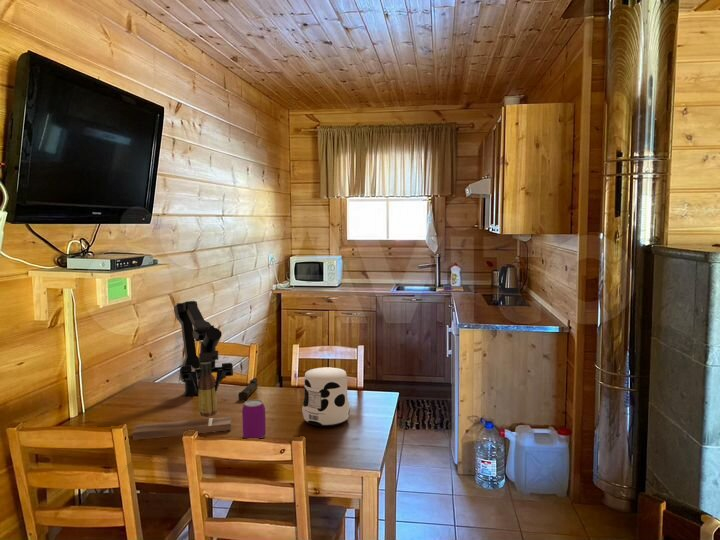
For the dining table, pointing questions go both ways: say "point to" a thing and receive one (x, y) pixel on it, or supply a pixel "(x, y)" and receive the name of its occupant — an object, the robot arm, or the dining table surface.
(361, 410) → the dining table surface
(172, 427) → the walnut board
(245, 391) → the hand tool
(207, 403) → the sauce bottle
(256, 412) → the beverage can
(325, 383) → the milk container
